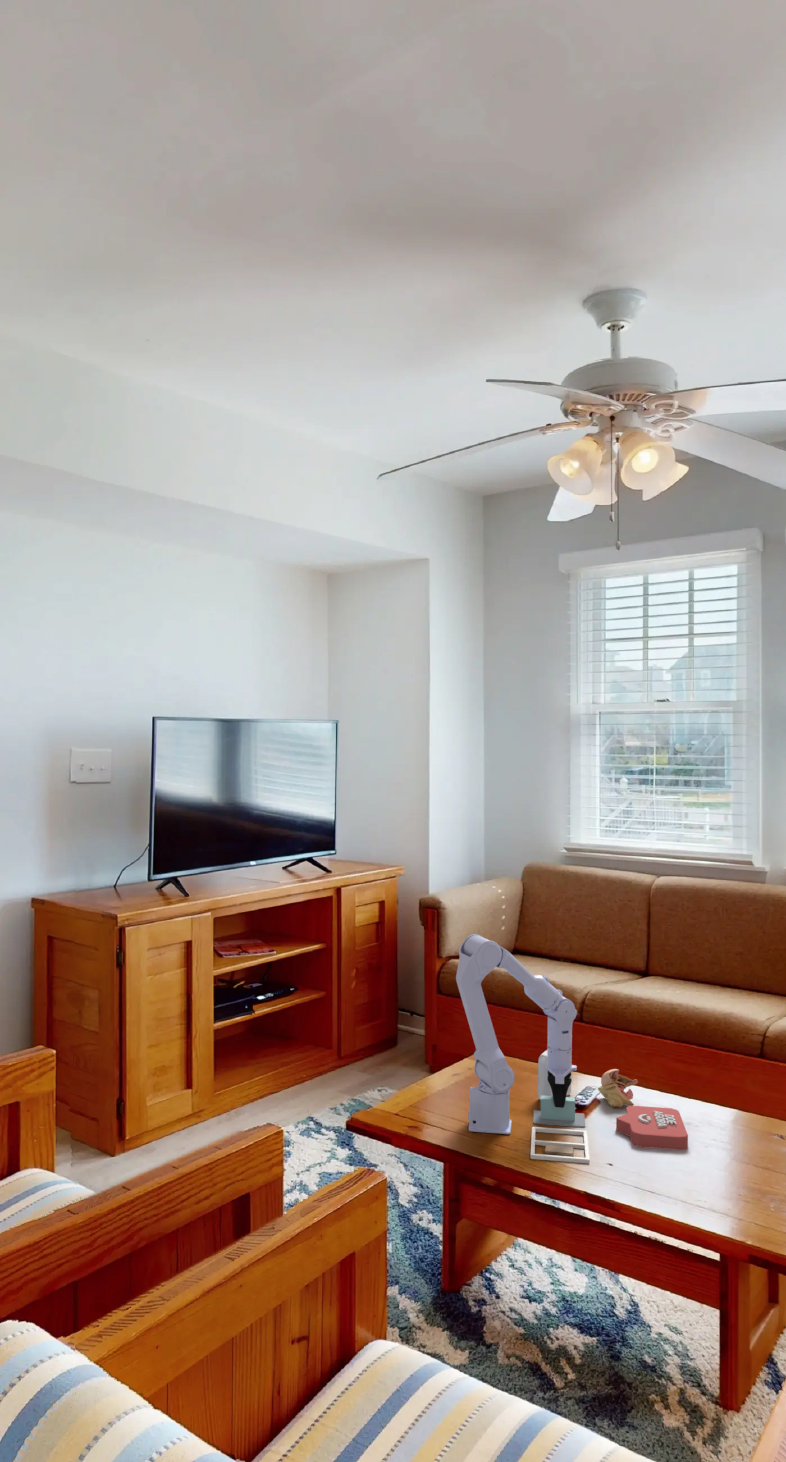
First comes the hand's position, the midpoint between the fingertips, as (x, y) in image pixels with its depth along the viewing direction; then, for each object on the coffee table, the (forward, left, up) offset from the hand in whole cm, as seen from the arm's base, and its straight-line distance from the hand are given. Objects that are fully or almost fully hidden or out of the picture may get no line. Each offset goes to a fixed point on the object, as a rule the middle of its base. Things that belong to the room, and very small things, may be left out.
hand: (559, 1104), depth 228 cm
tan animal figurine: (+14, +14, -4) cm, 20 cm away
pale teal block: (0, 0, -3) cm, 3 cm away
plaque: (+20, -4, -4) cm, 21 cm away
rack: (0, -16, -3) cm, 16 cm away
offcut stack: (0, -20, -4) cm, 20 cm away
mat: (0, 0, -3) cm, 3 cm away
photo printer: (-1, +15, -4) cm, 15 cm away
